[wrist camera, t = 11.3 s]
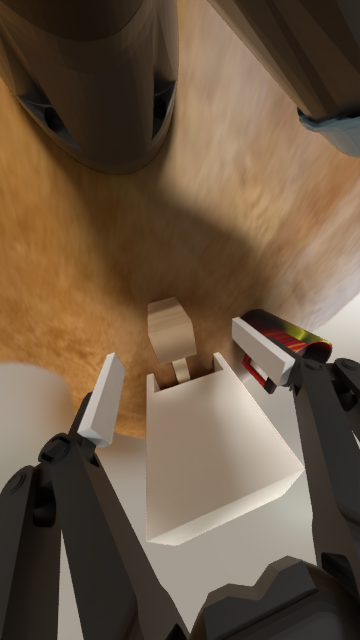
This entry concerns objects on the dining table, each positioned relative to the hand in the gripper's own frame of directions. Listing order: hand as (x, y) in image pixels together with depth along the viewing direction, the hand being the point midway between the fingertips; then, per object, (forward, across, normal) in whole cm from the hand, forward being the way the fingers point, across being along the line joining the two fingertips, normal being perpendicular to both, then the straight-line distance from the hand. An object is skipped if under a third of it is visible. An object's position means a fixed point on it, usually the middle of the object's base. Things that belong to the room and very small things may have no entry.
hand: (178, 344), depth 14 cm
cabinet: (+10, 0, -22) cm, 24 cm away
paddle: (+11, -1, -11) cm, 15 cm away
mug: (+11, +18, -13) cm, 25 cm away
